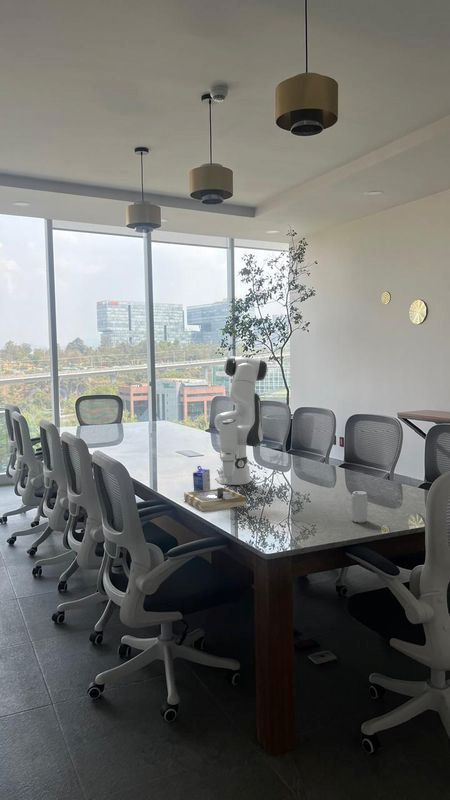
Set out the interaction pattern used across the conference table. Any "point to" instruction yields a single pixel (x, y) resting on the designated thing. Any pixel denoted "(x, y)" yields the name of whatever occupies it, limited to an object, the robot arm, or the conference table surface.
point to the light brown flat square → (215, 504)
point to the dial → (214, 495)
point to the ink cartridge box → (201, 479)
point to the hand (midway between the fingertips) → (230, 484)
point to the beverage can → (359, 506)
